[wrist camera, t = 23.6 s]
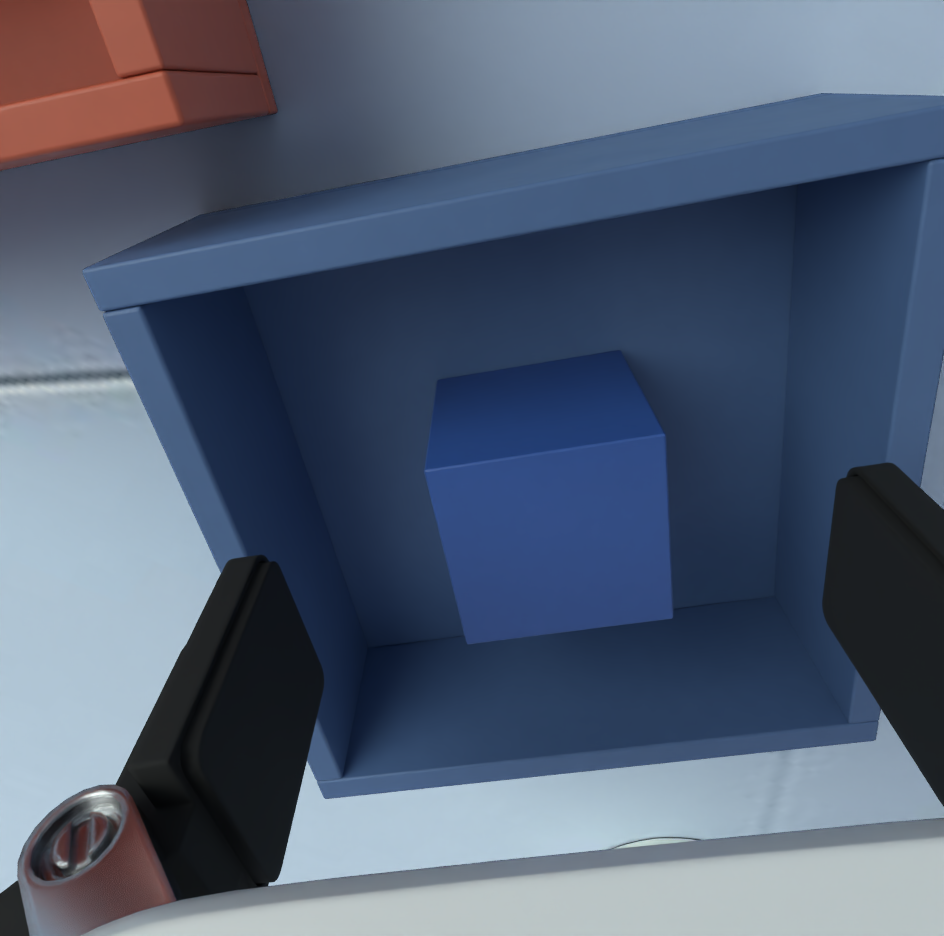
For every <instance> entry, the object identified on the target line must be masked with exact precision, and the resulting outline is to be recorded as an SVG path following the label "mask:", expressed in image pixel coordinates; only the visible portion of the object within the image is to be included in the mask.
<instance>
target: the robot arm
mask: <svg viewBox="0 0 944 936" xmlns="http://www.w3.org/2000/svg"><path fill="white" fill-rule="evenodd" d="M822 609H823V614H824V617H825V620H826V622H827V624H828V626H829V628H830V629H831V631H832V632H833V634H834V636H835V637H836V639H837V640H838V642H839V643H840V645H841V647H842V648H843V650H844V651H845V653H846V654H847V656H848V658H849V659H850V661H851V662H852V664H853V665H854V667H855V669H856V670H857V672H858V673H859V675H860V676H861V678H862V680H863V681H864V683H865V684H866V686H867V687H868V689H869V691H870V692H871V694H872V695H873V697H874V698H875V700H876V702H877V703H878V705H879V706H880V708H881V709H882V711H883V713H884V714H885V716H886V717H887V719H888V720H889V722H890V724H891V725H892V727H893V728H894V730H895V731H896V733H897V735H898V736H899V738H900V739H901V741H902V742H903V744H904V746H905V747H906V749H907V750H908V752H909V753H910V755H911V757H912V758H913V760H914V761H915V763H916V764H917V766H918V768H919V769H920V771H921V772H922V774H923V775H924V777H925V779H926V780H927V782H928V783H929V785H930V786H931V788H932V790H933V791H934V793H935V794H936V796H937V797H938V799H939V801H940V802H941V803H942V805H943V806H944V510H943V509H942V508H941V507H940V506H939V505H938V504H937V503H936V502H935V501H934V500H932V499H931V498H930V497H929V496H928V495H927V494H926V493H925V492H924V491H923V490H922V489H921V488H920V487H919V486H918V485H917V484H915V483H914V482H913V481H912V480H911V479H910V478H909V477H908V476H907V475H906V474H905V473H904V472H903V471H902V470H901V469H900V468H899V467H897V466H896V465H895V464H893V463H888V462H887V463H881V464H874V465H867V466H860V467H853V468H851V469H850V470H849V471H848V473H847V476H846V478H841V479H839V480H838V482H837V485H836V490H835V499H834V507H833V515H832V524H831V532H830V540H829V548H828V557H827V565H826V573H825V582H824V590H823V598H822ZM323 689H324V673H323V669H322V666H321V663H320V661H319V659H318V656H317V654H316V651H315V649H314V647H313V644H312V642H311V639H310V637H309V635H308V632H307V630H306V628H305V625H304V623H303V620H302V618H301V616H300V613H299V611H298V609H297V606H296V604H295V601H294V599H293V597H292V594H291V592H290V589H289V587H288V585H287V582H286V580H285V578H284V575H283V573H282V570H281V568H280V566H279V564H278V563H277V562H275V561H271V562H269V560H268V559H267V557H265V556H264V555H255V556H248V557H241V558H234V559H230V560H228V562H227V563H226V565H225V567H224V569H223V571H222V573H221V575H220V577H219V579H218V581H217V583H216V585H215V587H214V589H213V591H212V593H211V595H210V597H209V599H208V601H207V603H206V605H205V607H204V609H203V611H202V614H201V616H200V618H199V620H198V622H197V624H196V626H195V628H194V630H193V632H192V634H191V636H190V638H189V640H188V642H187V644H186V645H185V647H184V648H183V650H182V651H181V653H180V655H179V657H178V659H177V661H176V663H175V665H174V667H173V669H172V671H171V673H170V675H169V677H168V679H167V681H166V683H165V685H164V687H163V690H162V692H161V694H160V696H159V698H158V700H157V702H156V704H155V706H154V708H153V710H152V712H151V714H150V716H149V718H148V720H147V722H146V724H145V726H144V728H143V730H142V732H141V734H140V736H139V738H138V740H137V742H136V744H135V746H134V748H133V750H132V752H131V754H130V757H129V759H128V761H127V763H126V765H125V767H124V769H123V771H122V773H121V775H120V777H119V779H118V781H117V783H116V785H98V786H95V787H92V788H88V789H85V790H83V791H81V792H79V793H77V794H75V795H73V796H72V797H70V798H68V799H66V800H65V801H63V802H62V803H61V804H60V805H58V806H57V807H56V808H54V809H53V810H52V811H51V812H49V813H48V814H47V816H46V817H45V818H44V819H43V820H42V821H41V822H40V823H39V824H38V825H37V826H36V827H35V829H34V830H33V832H32V833H31V835H30V836H29V838H28V840H27V841H26V843H25V844H24V846H23V849H22V852H21V854H20V857H19V860H18V874H17V877H18V881H16V882H15V883H14V884H12V885H11V886H10V887H8V888H7V889H6V890H4V891H3V892H2V893H0V936H944V818H937V819H924V820H912V821H899V822H887V823H877V824H866V825H856V826H845V827H835V828H824V829H814V830H803V831H793V832H782V833H772V834H761V835H751V836H740V837H730V838H719V839H709V840H699V841H688V842H678V843H668V844H658V845H648V846H638V847H628V848H618V849H608V850H598V851H589V852H579V853H569V854H559V855H549V856H539V857H529V858H520V859H510V860H500V861H490V862H481V863H472V864H462V865H453V866H443V867H434V868H424V869H415V870H406V871H396V872H387V873H377V874H368V875H359V876H349V877H340V878H331V879H323V880H315V881H307V882H299V883H291V884H283V885H275V886H268V884H269V882H275V881H276V880H277V878H278V877H279V875H280V871H281V868H282V864H283V860H284V855H285V851H286V847H287V843H288V838H289V834H290V830H291V826H292V821H293V817H294V813H295V809H296V804H297V800H298V796H299V792H300V787H301V783H302V779H303V775H304V770H305V766H306V762H307V758H308V753H309V749H310V745H311V741H312V736H313V732H314V728H315V724H316V719H317V715H318V711H319V707H320V702H321V698H322V694H323Z"/></svg>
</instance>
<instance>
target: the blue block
mask: <svg viewBox="0 0 944 936" xmlns="http://www.w3.org/2000/svg"><path fill="white" fill-rule="evenodd" d="M424 474H425V478H426V482H427V486H428V490H429V494H430V498H431V502H432V506H433V510H434V514H435V518H436V522H437V526H438V530H439V534H440V538H441V542H442V546H443V550H444V554H445V558H446V563H447V567H448V571H449V575H450V579H451V583H452V587H453V591H454V595H455V599H456V603H457V607H458V611H459V615H460V619H461V623H462V627H463V631H464V635H465V639H466V642H467V644H475V643H483V642H491V641H499V640H507V639H515V638H523V637H530V636H538V635H546V634H554V633H562V632H570V631H578V630H586V629H594V628H602V627H610V626H618V625H626V624H634V623H642V622H649V621H657V620H665V619H672V618H673V595H672V570H671V545H670V520H669V495H668V470H667V445H666V434H665V432H664V430H663V428H662V427H661V425H660V423H659V421H658V419H657V417H656V415H655V413H654V412H653V410H652V408H651V406H650V404H649V402H648V400H647V399H646V397H645V395H644V393H643V391H642V389H641V387H640V386H639V384H638V382H637V380H636V378H635V376H634V374H633V373H632V371H631V369H630V367H629V365H628V363H627V361H626V359H625V358H624V356H623V354H622V352H621V350H616V351H610V352H604V353H598V354H592V355H585V356H579V357H573V358H567V359H561V360H555V361H549V362H543V363H537V364H531V365H525V366H519V367H513V368H507V369H500V370H494V371H488V372H482V373H476V374H470V375H464V376H458V377H452V378H446V379H440V380H437V384H436V391H435V398H434V405H433V412H432V419H431V426H430V433H429V440H428V448H427V455H426V462H425V469H424Z"/></svg>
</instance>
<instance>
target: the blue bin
mask: <svg viewBox="0 0 944 936" xmlns="http://www.w3.org/2000/svg"><path fill="white" fill-rule="evenodd" d="M82 272H83V276H84V278H85V280H86V282H87V284H88V286H89V289H90V291H91V293H92V295H93V297H94V299H95V302H96V304H97V306H98V308H99V310H100V311H105V313H104V314H103V317H104V320H105V322H106V324H107V327H108V329H109V331H110V333H111V335H112V338H113V340H114V342H115V344H116V346H117V348H118V351H119V353H120V355H121V357H122V359H123V361H124V364H125V366H126V368H127V370H128V372H129V374H130V377H131V379H132V381H133V383H134V385H135V387H136V390H137V392H138V394H139V396H140V398H141V401H142V403H143V405H144V407H145V409H146V411H147V414H148V416H149V418H150V420H151V422H152V424H153V427H154V429H155V431H156V433H157V435H158V437H159V440H160V442H161V444H162V446H163V448H164V450H165V453H166V455H167V457H168V459H169V461H170V464H171V466H172V468H173V470H174V472H175V474H176V477H177V479H178V481H179V483H180V485H181V487H182V490H183V492H184V494H185V496H186V498H187V500H188V503H189V505H190V507H191V509H192V511H193V513H194V516H195V518H196V520H197V522H198V524H199V527H200V529H201V531H202V533H203V535H204V537H205V540H206V542H207V544H208V546H209V548H210V550H211V553H212V555H213V557H214V559H215V561H216V563H217V566H218V568H219V570H220V572H221V573H222V571H223V569H224V567H225V565H226V563H227V562H228V560H230V559H234V558H241V557H248V556H255V555H264V556H265V557H267V559H268V560H269V562H271V561H275V562H277V563H278V564H279V566H280V568H281V570H282V573H283V575H284V578H285V580H286V582H287V585H288V587H289V589H290V592H291V594H292V597H293V599H294V601H295V604H296V606H297V609H298V611H299V613H300V616H301V618H302V620H303V623H304V625H305V628H306V630H307V632H308V635H309V637H310V639H311V642H312V644H313V647H314V649H315V651H316V654H317V656H318V659H319V661H320V663H321V666H322V669H323V673H324V689H323V694H322V698H321V702H320V707H319V711H318V715H317V719H316V724H315V728H314V732H313V736H312V741H311V745H310V749H309V753H308V758H307V761H308V763H309V765H310V768H311V770H312V772H313V774H314V776H315V778H316V780H317V783H318V786H319V788H320V790H321V792H322V795H323V797H324V798H325V799H330V798H340V797H349V796H358V795H368V794H377V793H387V792H396V791H405V790H415V789H424V788H434V787H443V786H453V785H462V784H471V783H481V782H490V781H500V780H509V779H518V778H528V777H537V776H547V775H556V774H565V773H575V772H584V771H594V770H603V769H612V768H622V767H631V766H641V765H650V764H660V763H669V762H678V761H688V760H697V759H707V758H716V757H725V756H735V755H744V754H754V753H763V752H772V751H782V750H791V749H801V748H810V747H819V746H829V745H838V744H848V743H857V742H867V741H874V740H875V739H876V734H877V729H878V720H879V717H880V711H881V708H880V706H879V705H878V703H877V702H876V700H875V698H874V697H873V695H872V694H871V692H870V691H869V689H868V687H867V686H866V684H865V683H864V681H863V680H862V678H861V676H860V675H859V673H858V672H857V670H856V669H855V667H854V665H853V664H852V662H851V661H850V659H849V658H848V656H847V654H846V653H845V651H844V650H843V648H842V647H841V645H840V643H839V642H838V640H837V639H836V637H835V636H834V634H833V632H832V631H831V629H830V628H829V626H828V624H827V622H826V620H825V617H824V614H823V609H822V598H823V590H824V582H825V573H826V565H827V557H828V548H829V540H830V532H831V524H832V515H833V507H834V499H835V490H836V485H837V482H838V480H839V479H841V478H846V476H847V473H848V471H849V470H850V469H851V468H853V467H860V466H867V465H874V464H881V463H887V462H888V463H893V464H895V465H896V466H897V467H899V468H900V469H901V470H902V471H903V472H904V473H905V474H906V475H907V476H908V477H909V478H910V479H911V480H912V481H913V482H914V483H915V484H917V485H918V486H919V487H920V485H921V479H922V474H923V468H924V462H925V457H926V451H927V445H928V440H929V434H930V428H931V423H932V417H933V411H934V406H935V400H936V395H937V389H938V383H939V378H940V372H941V366H942V361H943V355H944V96H926V95H881V94H833V93H821V94H816V95H811V96H805V97H800V98H795V99H790V100H785V101H780V102H775V103H770V104H765V105H759V106H754V107H749V108H744V109H739V110H734V111H729V112H724V113H718V114H713V115H708V116H703V117H698V118H693V119H688V120H683V121H678V122H672V123H667V124H662V125H657V126H652V127H647V128H642V129H637V130H632V131H626V132H621V133H616V134H611V135H606V136H601V137H596V138H591V139H586V140H580V141H575V142H570V143H565V144H560V145H555V146H550V147H545V148H539V149H534V150H529V151H524V152H519V153H514V154H509V155H504V156H499V157H493V158H488V159H483V160H478V161H473V162H468V163H463V164H458V165H453V166H447V167H442V168H437V169H432V170H427V171H422V172H417V173H412V174H407V175H401V176H396V177H391V178H386V179H381V180H376V181H371V182H366V183H360V184H355V185H350V186H345V187H340V188H335V189H330V190H325V191H320V192H314V193H309V194H304V195H299V196H294V197H289V198H284V199H279V200H274V201H268V202H263V203H258V204H253V205H248V206H243V207H238V208H233V209H228V210H222V211H217V212H212V213H207V214H202V215H199V216H197V217H194V218H192V219H190V220H188V221H186V222H184V223H181V224H179V225H177V226H175V227H173V228H171V229H168V230H166V231H164V232H162V233H160V234H158V235H156V236H153V237H151V238H149V239H147V240H145V241H143V242H140V243H138V244H136V245H134V246H132V247H130V248H128V249H125V250H123V251H121V252H119V253H117V254H115V255H112V256H110V257H108V258H106V259H104V260H102V261H99V262H97V263H95V264H93V265H91V266H89V267H87V268H85V269H84V270H83V271H82ZM616 350H621V352H622V354H623V356H624V358H625V359H626V361H627V363H628V365H629V367H630V369H631V371H632V373H633V374H634V376H635V378H636V380H637V382H638V384H639V386H640V387H641V389H642V391H643V393H644V395H645V397H646V399H647V400H648V402H649V404H650V406H651V408H652V410H653V412H654V413H655V415H656V417H657V419H658V421H659V423H660V425H661V427H662V428H663V430H664V432H665V434H666V445H667V470H668V495H669V520H670V545H671V570H672V595H673V618H672V619H665V620H657V621H649V622H642V623H634V624H626V625H618V626H610V627H602V628H594V629H586V630H578V631H570V632H562V633H554V634H546V635H538V636H530V637H523V638H515V639H507V640H499V641H491V642H483V643H475V644H467V642H466V639H465V635H464V631H463V627H462V623H461V619H460V615H459V611H458V607H457V603H456V599H455V595H454V591H453V587H452V583H451V579H450V575H449V571H448V567H447V563H446V558H445V554H444V550H443V546H442V542H441V538H440V534H439V530H438V526H437V522H436V518H435V514H434V510H433V506H432V502H431V498H430V494H429V490H428V486H427V482H426V478H425V474H424V469H425V462H426V455H427V448H428V440H429V433H430V426H431V419H432V412H433V405H434V398H435V391H436V384H437V380H440V379H446V378H452V377H458V376H464V375H470V374H476V373H482V372H488V371H494V370H500V369H507V368H513V367H519V366H525V365H531V364H537V363H543V362H549V361H555V360H561V359H567V358H573V357H579V356H585V355H592V354H598V353H604V352H610V351H616Z"/></svg>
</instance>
